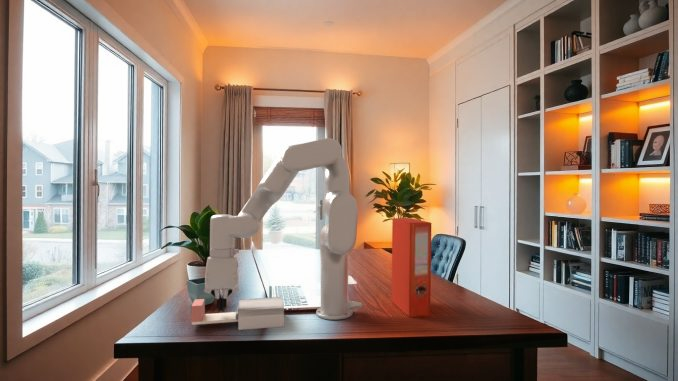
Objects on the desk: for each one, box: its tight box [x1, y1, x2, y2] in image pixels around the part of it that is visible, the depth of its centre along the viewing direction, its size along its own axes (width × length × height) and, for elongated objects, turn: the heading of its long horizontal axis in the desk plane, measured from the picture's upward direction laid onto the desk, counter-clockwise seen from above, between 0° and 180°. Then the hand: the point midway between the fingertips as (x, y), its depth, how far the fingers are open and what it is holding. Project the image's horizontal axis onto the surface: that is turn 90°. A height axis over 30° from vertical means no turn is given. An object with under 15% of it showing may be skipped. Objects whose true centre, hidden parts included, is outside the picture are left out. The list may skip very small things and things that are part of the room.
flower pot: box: [186, 276, 216, 306], centre depth 148 cm, size 9×9×9 cm
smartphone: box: [348, 275, 358, 286], centre depth 184 cm, size 7×1×15 cm
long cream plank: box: [191, 299, 238, 326], centre depth 127 cm, size 26×7×6 cm, turn 102°
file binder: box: [391, 217, 432, 318], centre depth 142 cm, size 8×17×32 cm, turn 12°
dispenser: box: [235, 296, 285, 331], centre depth 129 cm, size 15×12×6 cm
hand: (221, 310), depth 126 cm, fingers closed
